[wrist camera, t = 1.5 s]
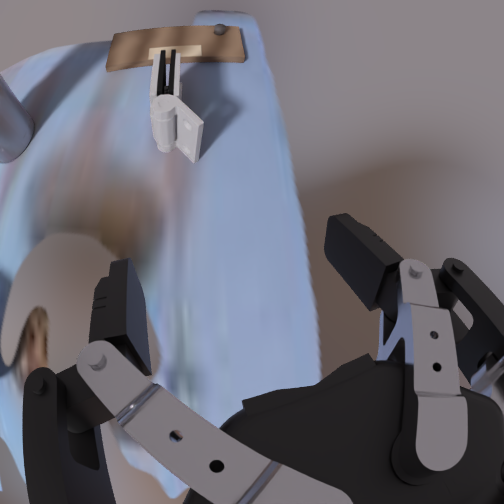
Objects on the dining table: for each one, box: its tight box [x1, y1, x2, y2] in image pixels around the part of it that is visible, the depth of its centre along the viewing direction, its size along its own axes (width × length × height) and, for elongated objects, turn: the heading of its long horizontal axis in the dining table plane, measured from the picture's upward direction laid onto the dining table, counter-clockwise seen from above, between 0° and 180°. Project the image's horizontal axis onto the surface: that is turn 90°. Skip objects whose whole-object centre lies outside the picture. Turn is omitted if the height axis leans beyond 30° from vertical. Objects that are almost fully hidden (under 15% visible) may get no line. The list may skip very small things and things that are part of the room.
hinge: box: [150, 49, 204, 164], centre depth 32 cm, size 14×5×10 cm, turn 19°
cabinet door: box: [106, 24, 245, 72], centre depth 37 cm, size 24×10×3 cm, turn 97°
